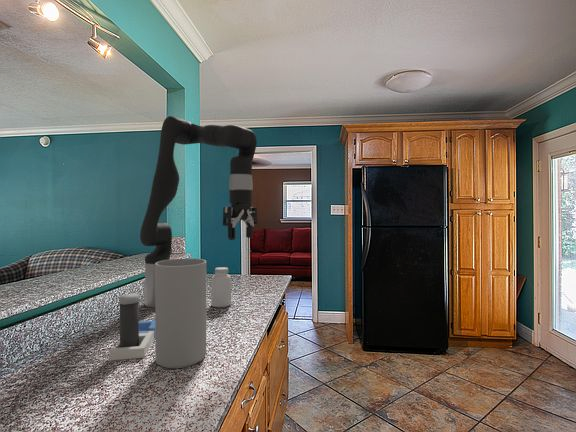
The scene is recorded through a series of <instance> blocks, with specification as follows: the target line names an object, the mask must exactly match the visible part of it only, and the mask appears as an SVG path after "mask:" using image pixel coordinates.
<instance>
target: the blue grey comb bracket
mask: <svg viewBox="0 0 576 432" xmlns="http://www.w3.org/2000/svg"><path fill="white" fill-rule="evenodd" d="M154 339H155V319H152V320H144V321H143V320H141V321H139V346H135V347H122V348H120V347H113V348H110V349H109V351H108V352H109V354H108V356H109V357H108V358H109V359H108V360H109V361H110V362H111V361H121V360H131V359H132V360H134V359H144V358H145V357H146V355H147V353H148V351H149V349H150V347H151V345H152V344H153V342H154Z"/></svg>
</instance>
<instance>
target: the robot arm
mask: <svg viewBox="0 0 576 432" xmlns="http://www.w3.org/2000/svg"><path fill="white" fill-rule="evenodd" d="M160 130H161V131H160V139H159V147H158V149H159V150H158V155H157V161H156V165H155V166H156V167H155V172H154V176H153V179H152V185H151V190H150V196H149V200H148V204H147V208H146V211H145V215H144V218H143V221H142V224H141V227H140V231H139V238H140V239H139V240H140V242H141V244H142V245H143V246H146V247H154V246H155V248H154V250H152V252H150V253H148V254H146V255H145V257H144V281H143V304H144V305H145V307H147V308H155V263H156V262H159V261H163V260H170V259H171V258H170V257H171V255H172V244H173V243H172V242H173V241H172V240H173V231H172V227H171V225H170V224H169V223H167V222H160V221H159V220H160V218H161V215H162V213H163V212H164V211H165V209H167V207H168V206H169V205H170V204H171V202H173V200H174V199H175V197H176V195H177V194H178V193H177V192H178V188H179V183H180V174H179V171H178V168H177V165H176V162H175V158H174V157H175V156H174V154H175V152H174V151H175V146H176V144H178V145H183V146H184V145H185V146H186V145H193V144H205V145H209V146H213V147H221V148H226V147H229V148H233V149H236V150H239V151H238V155H235V156H233V157H232V158H230V165H229V167H230V168H229V170H230V171H229V175H230V176H229V181H228V182H229V185H228V189H229V190H228V191H229V193H228V195H229V197H228V198H229V200H228V202H229V204H230V206H224V207H223V209H222V210H223V211H222V226H224V227H226V228H227V238H228V240H229V241H234V240H236V225H237V223H239V222H240V221H243V222H244V223H245V225H246V226H245V227H246V228H245V229H246V231H245V236H246V239H247V238H248V239H251V238H253V237H254V236H253V235H254V226H255V225H258V208H257V206H251V205H252V204H253V200H254V199H253V198H254V197H253V190H254V189H253V187H254V186H253V185H254V183H253V167H252V166H253V160H254V157H255V152H256V149H257V136H256V134H255V132H254V131H253V130H251V129H249V128H246V127H243V126H240V125H235V124H226V125H218V124H208V125H206V124H205V125H204V126H201V125H198V124H196V123H192V122H191V121H189V120H187V119H184V118H180V117H177V116H172V115H168V116H167V117H166V118H165V119H164V121H163V122H162V126H161V129H160Z"/></svg>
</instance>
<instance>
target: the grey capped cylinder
mask: <svg viewBox="0 0 576 432" xmlns="http://www.w3.org/2000/svg"><path fill="white" fill-rule="evenodd" d="M139 302H140V294H139V293H127V294H121V295H120V296H119V297H118V304H119V348H122V347H135V346H140V345H139V320H140V317H139V316H140V314H139V313H140V310H139V309H140V305H139V304H140V303H139Z"/></svg>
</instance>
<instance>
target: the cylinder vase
mask: <svg viewBox="0 0 576 432" xmlns="http://www.w3.org/2000/svg"><path fill="white" fill-rule="evenodd" d="M154 308H155V310H154V312H155V316H154V317H155V319H154V320H155V338H154V339H155V341H154V342H155V345H154V346H155V348H154V349H155V351H154V352H155V353H154V354H155V362H156V364H157V365H158V366H161V367H163V368H166V369H183V368H188V367H191V366H193V365H196V364H199V362H201V361H203V359H204V358H205V357H206V355H207V260H206V259H202V258H190V257H189V258H188V257H187V258H172V259H171V258H170V260H163V261H159V262H156V263H155V307H154Z"/></svg>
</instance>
